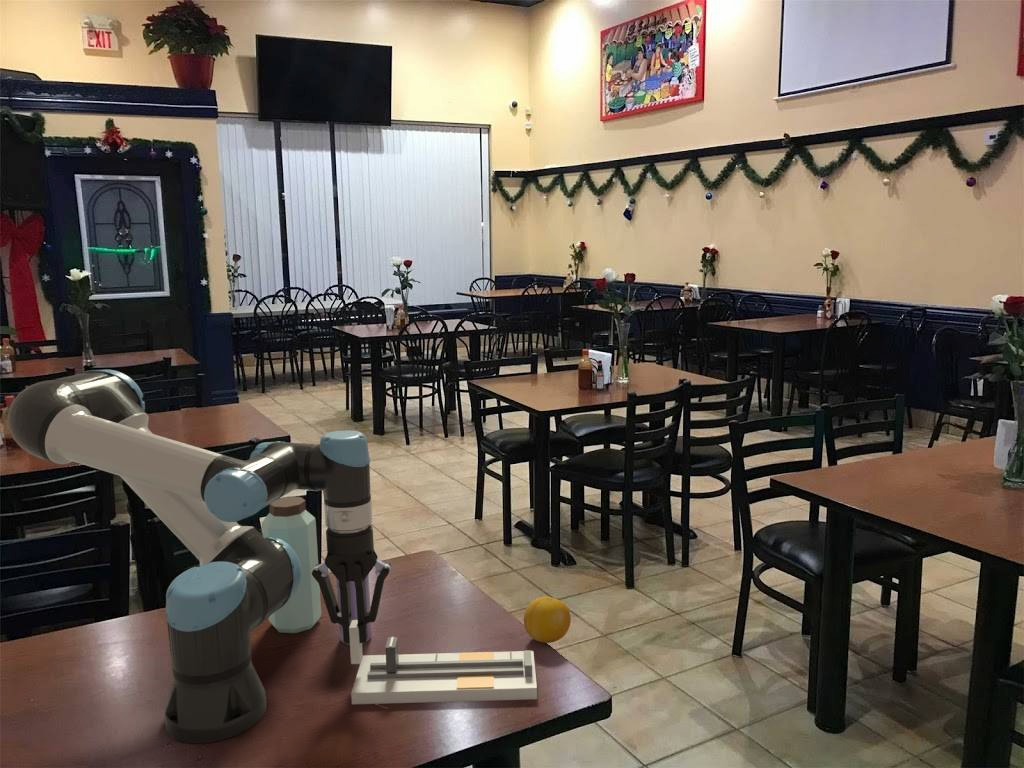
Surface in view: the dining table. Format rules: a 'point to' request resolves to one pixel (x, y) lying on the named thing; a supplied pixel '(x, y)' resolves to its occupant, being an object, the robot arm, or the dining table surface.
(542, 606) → the fruit
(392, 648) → the fader
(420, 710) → the dining table surface
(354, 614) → the beverage can
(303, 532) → the water bottle
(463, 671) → the console
